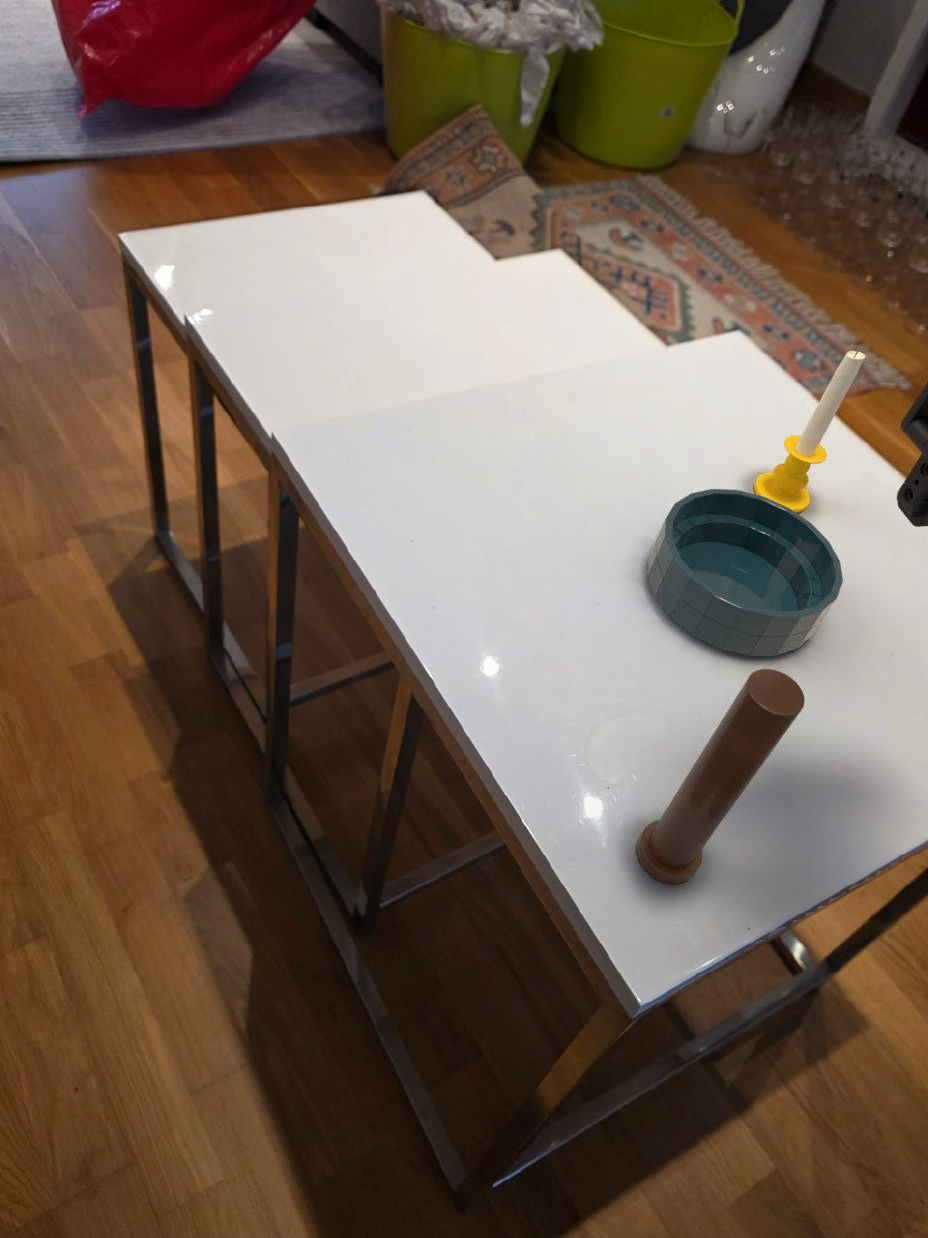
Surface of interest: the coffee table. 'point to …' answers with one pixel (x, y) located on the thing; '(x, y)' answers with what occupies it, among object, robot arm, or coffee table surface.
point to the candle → (808, 443)
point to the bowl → (743, 572)
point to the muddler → (720, 775)
